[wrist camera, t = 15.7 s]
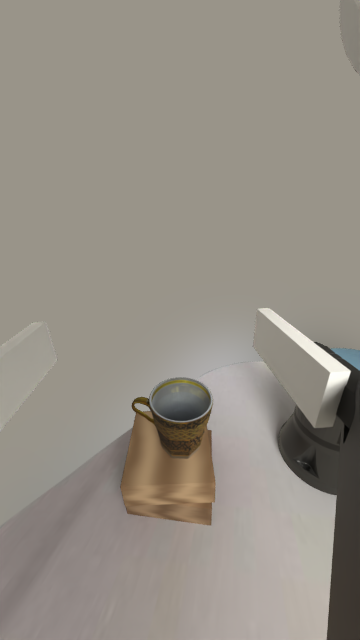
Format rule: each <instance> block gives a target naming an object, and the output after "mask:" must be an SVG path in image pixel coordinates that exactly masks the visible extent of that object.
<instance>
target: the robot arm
mask: <svg viewBox="0 0 360 640" xmlns="http://www.w3.org/2000/svg"><path fill="white" fill-rule="evenodd" d="M340 29H341V36H342V41H343V45H344V48H345V52H346V55H347V57H348V58H349V61H350V62H351V64H352V66H353V68H354V69H355V71H356V72H357V73H358V74H359V75H360V0H340ZM253 347H254V348H255V350H256V351H257V352H258V354H259V355H260V356H261V358H262V359H263V360H264V362H265V363H266V364H267V366H268V367H269V368H270V370H271V371H272V372H273V374H274V375H275V376H276V378H277V379H278V380H279V382H280V383H281V384H282V386H283V387H284V388H285V390H286V391H287V392H288V394H289V395H290V396H291V398H292V399H293V400H294V402H295V403H296V407H295V411H294V413H293V414H292V416H291V417H290V418H289V420H288V421H287V422H286V423H285V424H284V425H283V426H282V428H281V431H280V436H279V449H280V452H281V454H282V457H283V458H284V460H285V462H286V463H287V465H288V466H289V467H290V468H291V470H292V471H293V472H294V473H295V474H296V475H297V476H298V477H300V478H301V479H302V480H303V481H305V482H306V483H308V484H309V485H311V486H312V487H314V488H316V489H318V490H320V491H323V492H326V493H329V494H333V495H337V500H336V515H335V529H334V544H333V558H332V573H331V587H330V602H329V616H328V630H327V640H360V350H355V349H346V348H331V349H329V348H328V347H327V346H324V345H322V344H320V343H317V342H312V341H311V340H310V339H308V338H307V337H306V336H305V335H303V334H302V333H300V332H299V331H298V330H297V329H295V328H294V327H293V326H292V325H290V324H289V323H288V322H286V321H285V320H284V319H282V318H281V317H280V316H278V315H277V314H276V313H275V312H273V311H272V310H271V309H269V308H262V309H257V315H256V324H255V333H254V342H253ZM57 360H58V359H57V356H56V353H55V350H54V346H53V343H52V340H51V337H50V333H49V330H48V327H47V324H46V322H34V323H32V324H30V325H29V326H28V327H26V328H25V329H23V330H22V331H21V332H19V333H18V334H17V335H15V336H14V337H12V338H11V339H10V340H8V341H7V342H5V343H4V344H3V345H1V346H0V431H1V430H2V429H3V427H4V426H5V425H6V424H7V423H8V421H9V420H10V419H11V417H12V416H13V415H14V414H15V413H16V411H17V410H18V409H19V408H20V407H21V405H22V404H23V403H24V401H25V400H26V399H27V398H28V396H29V395H30V394H31V393H32V392H33V390H34V389H35V388H36V386H37V385H38V384H39V383H40V381H41V380H42V379H43V378H44V377H45V375H46V374H47V373H48V372H49V370H50V369H51V368H52V367H53V365H54V364H55V363H56V362H57Z"/></svg>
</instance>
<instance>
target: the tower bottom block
mask: <svg viewBox="0 0 360 640" xmlns="http://www.w3.org/2000/svg"><path fill="white" fill-rule="evenodd" d="M207 431H208V438H209V444H210V450H211V457H212V448H211V430H207ZM126 509H127V513H128V514H133V515H140V516H147V517H154V518H162V519H169V520H176V521H183V522H190V523H197V524H204V525H211V515H212V502H210V503H186V504H163V505H139V506H126Z"/></svg>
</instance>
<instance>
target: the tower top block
mask: <svg viewBox="0 0 360 640" xmlns="http://www.w3.org/2000/svg"><path fill="white" fill-rule="evenodd" d="M143 413H145V414H147V415H148V416H149V417H150V418H152V419H153V416H152V412H151V411H147V412H143ZM120 487H121V491H122V495H123V499H124V504H125V506H139V505H163V504H186V503H210V502H215V476H214V470H213V463H212V457H211V450H210V444H209V438H208V431H207V425H206V428H205V432H204V435H203V438H202V441H201V445H200V448H199V449H198V450H197V451H196V452H195V453H194V454H193V455H192V456H191V457H190V458H188V459H179V458H172V457H171V456H170V455H169V454H168V453H167V452H166V451H165V450H164V449H163V448H162V446H161V442H160V438H159V435H158V432H157V428H156V426H155V425H154V424H153V423H151V422H150V421H148V420H147V419H146V418H145V417H143V416H141V415H139V414H137V413H136V416H135V421H134V425H133V430H132V435H131V439H130V444H129V449H128V453H127V458H126V463H125V467H124V472H123V477H122V481H121V486H120Z"/></svg>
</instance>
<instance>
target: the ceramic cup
mask: <svg viewBox="0 0 360 640" xmlns="http://www.w3.org/2000/svg"><path fill="white" fill-rule="evenodd" d="M135 403H141V404H144V405H146V406H148V407H149V408H150V410H151V412H152V416H153V419H152V418H150V417H149V416H148V415H147V414H145V413H143V412H141V411H140V410H138V409H136V408H135V406H134V404H135ZM212 405H213V397H212V394H211V392H210V390H209V389H208V388H207V387H206V386H205V385H204V384H203V383H201V382H199V381H197V380H194V379H190V378H184V377H179V378H171V379H168V380H165V381H163V382H161V383H159V384H158V385H157V386H156V387H155V388H154V389H153V390H152V392H151V394H150V397H149V399H148V398H145V397H139V398H136V399H135V400H134V401H133V403H132V409H133V410H134V411H135V412H136V413H137V414H139V415H141V416H143V417H145V418H146V419H147V420H148V421H150V422H151V423H153V424H154V425H155V426H156V428H157V432H158V435H159V438H160V442H161V446H162V448H163V449H164V450H165V451H166V452H167V453H168V454H169V455H170V456H171V457H172V458H179V459H188V458H190V457H191V456H192V455H193V454H194V453H195V452H196V451H197V450H198V449H199V448H200V445H201V441H202V438H203V435H204V432H205V428H206V425H207V423H208V420H209V417H210V413H211V409H212Z"/></svg>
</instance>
